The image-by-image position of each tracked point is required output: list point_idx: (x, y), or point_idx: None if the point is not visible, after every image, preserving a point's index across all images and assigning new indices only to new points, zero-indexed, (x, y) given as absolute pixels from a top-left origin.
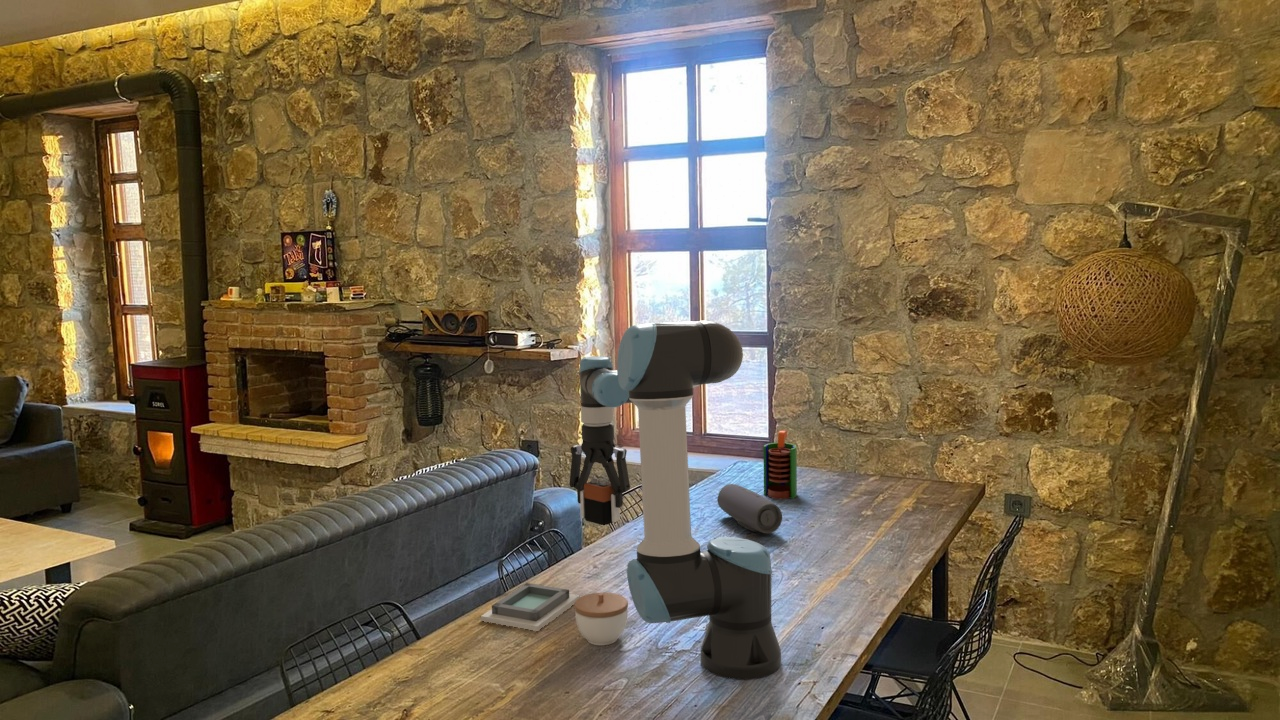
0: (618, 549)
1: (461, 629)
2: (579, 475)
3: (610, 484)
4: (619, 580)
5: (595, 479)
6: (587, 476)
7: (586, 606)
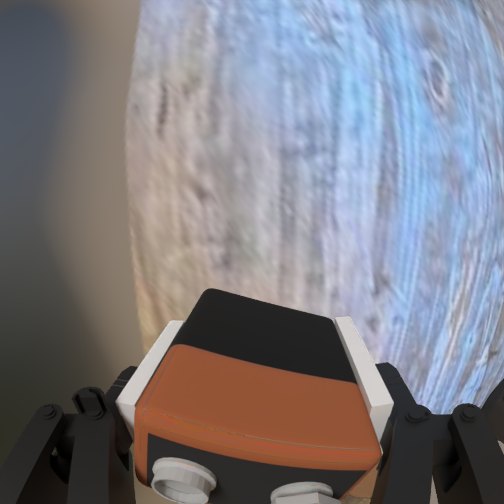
0: (190, 63)
1: None
2: (41, 453)
3: (349, 480)
4: (306, 251)
5: (171, 473)
6: (119, 500)
7: (369, 493)
